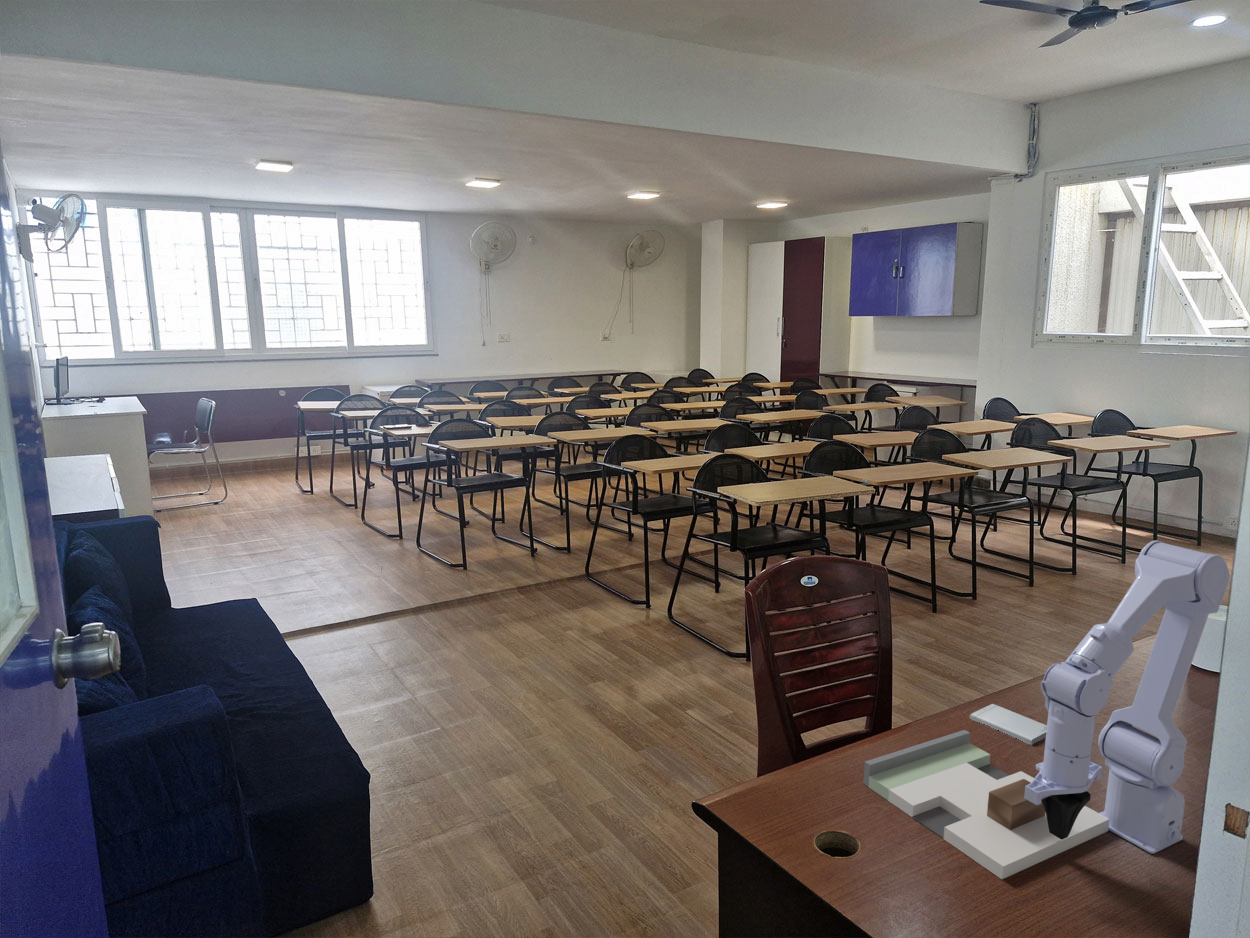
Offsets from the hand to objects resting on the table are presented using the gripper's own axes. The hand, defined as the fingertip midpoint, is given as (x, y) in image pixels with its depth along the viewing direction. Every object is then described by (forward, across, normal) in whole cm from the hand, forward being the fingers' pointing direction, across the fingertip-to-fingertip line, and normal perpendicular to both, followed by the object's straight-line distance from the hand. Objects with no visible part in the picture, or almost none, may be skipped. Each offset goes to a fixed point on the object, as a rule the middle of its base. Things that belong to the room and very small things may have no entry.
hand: (1058, 834), depth 116 cm
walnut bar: (+1, 0, -7) cm, 7 cm away
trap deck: (+3, 0, -13) cm, 13 cm away
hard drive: (+4, -28, -29) cm, 40 cm away
